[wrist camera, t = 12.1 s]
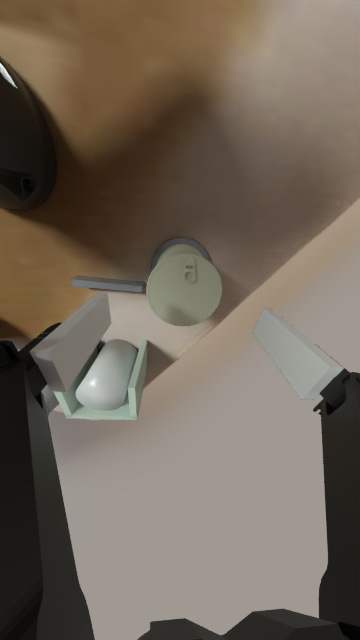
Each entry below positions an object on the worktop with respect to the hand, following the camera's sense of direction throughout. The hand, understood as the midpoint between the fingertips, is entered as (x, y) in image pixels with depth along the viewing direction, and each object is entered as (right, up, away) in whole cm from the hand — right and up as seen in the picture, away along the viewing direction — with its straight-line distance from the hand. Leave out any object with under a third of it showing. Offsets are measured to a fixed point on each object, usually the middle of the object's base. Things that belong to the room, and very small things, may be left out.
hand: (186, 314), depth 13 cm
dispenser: (-15, -3, +22) cm, 27 cm away
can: (0, +9, +15) cm, 17 cm away
